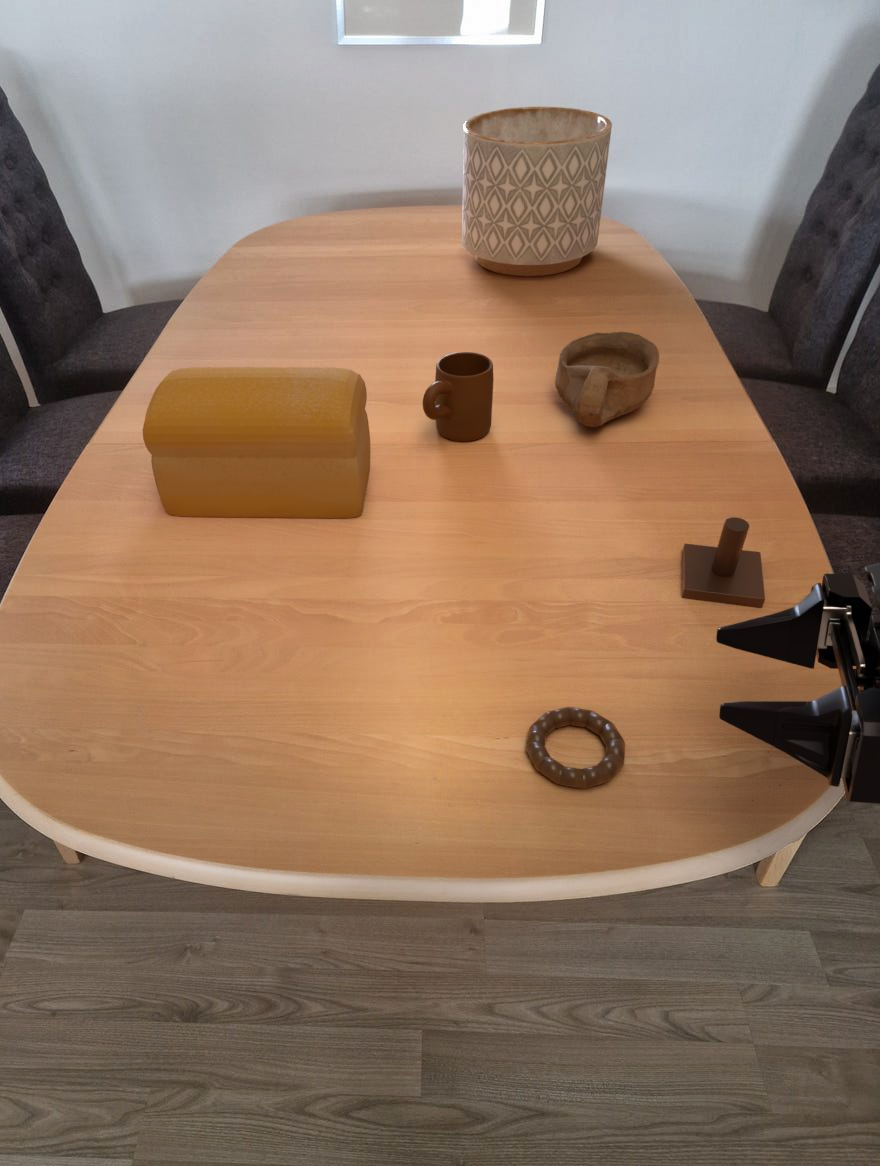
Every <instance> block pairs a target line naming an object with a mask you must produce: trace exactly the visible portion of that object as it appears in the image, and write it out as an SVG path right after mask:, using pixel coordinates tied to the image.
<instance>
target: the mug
mask: <svg viewBox="0 0 880 1166" xmlns="http://www.w3.org/2000/svg"><path fill="white" fill-rule="evenodd" d="M493 398H494V364H493V361H492V360H491V358H489V357H488V356H487V355H484V354H482V353H478V352H474V351H456V352H452V353H448V354H446V355H444V356H442V357H440V358H439V359H438V360H437V362H436V364H435V377H434V382H432V383H431V384H430V385H429V386H428V387H427V388H426V389H425V392H424V394H423V398H422V410H423V413H424V414H425V416H426V417H427V418H429V419H430V420H431V421H432V420H433V421H435V427H436V430H437V432H438V434H439V435H441V436H442V438H445V439H447V440H450V441H453V442H454V441H455V442H463V443H464V442H473V441H477V440H479V439H481V438H483V437H485V436H486V435H487V434H488V433H489V432H490V429H491V426H492V417H493V415H492V414H493V400H494V399H493Z"/></svg>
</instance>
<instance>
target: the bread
mask: <svg viewBox="0 0 880 1166" xmlns="http://www.w3.org/2000/svg"><path fill="white" fill-rule="evenodd" d="M367 396H368V393H367V386H366V382H365V379H363V377H362V375H361V374H360V373H359V372H356V371H355V370H352V369H348V368H343V367H332V366H331V367H326V366H323V367H322V366H320V367H319V366H318V367H317V366H300V367H299V366H270V367H269V366H268V367H267V366H264V367H263V366H260V367H259V366H245V367H244V366H243V367H242V366H238V367H237V366H233V367H232V366H229V367H228V366H227V367H226V366H223V367H222V366H221V367H218V366H217V367H211V366H209V367H205V366H204V367H202V366H201V367H183V368H177V369H175V370H174V369H173V370H172V371H170V372H169V373H168V374H167V375H165V377H164V378H163V379H162V380H161V381H160V382H159V384H158V385H157V386H156V388H155V390H154V391H153V394H152V396H151V399H150V401H149V403H148V406H147V408H146V412H145V417H144V422H143V427H142V439H143V443H144V446H145V448H146V449H147V451H148V452H149V454H150V455H151V458H150V459H151V461H150V462H151V469H152V473H153V478H154V482H155V486H156V490H157V493H158V496H159V499H160V502H161V504H162V506H163V507H164V509H165V511H166V514H168V515H169V516H175V517H189V518H190V517H192V518H193V517H194V518H195V517H196V518H197V517H198V518H268V519H274V518H275V519H276V518H277V519H278V518H279V519H283V518H284V519H353V518H358V517H360V516H362V513H363V510H364V504H365V498H366V493H367V487H368V481H369V475H370V470H371V434H370V425H369V423H370V422H369V417H368V413H367V410H366V405H367V398H368V397H367Z"/></svg>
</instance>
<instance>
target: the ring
mask: <svg viewBox="0 0 880 1166" xmlns="http://www.w3.org/2000/svg"><path fill="white" fill-rule="evenodd" d="M567 726H573V727H574V726H575V727H581V728H586V729H588V730H590V731H591V732H593V733H594V734H596V735H597V736H599V737H600V740H601V741H602V743H603V744H604V745H605V756H604V757H603V758H602V759H601V760H600V761H599V762H598V763H597V764H596V765H591V766H588V767H584V768H578V767H573V766H567V765H563V764H562V763H560V762H559V761H558V760H556V759H555V758H553V757H551V755H550V753H549V752H548V749H547V747H546V741H547V737H548V736H549V735H550V734H551V733H552V732H553V731H554V730H555V729H558V728H562V727H567ZM525 751H526V752H527V755H528V757H529V758H530V761H531V763H532V765H533V767H534V768H535V770H536V771H537V772H539V773H540V774H541V775H543V776H545V777H546V778H548V779H549V780H550V781H552V782H553V783H555V784H557V785H560V786H565V787H572V788H577V789H588V788H592V787H595V786H598V785H602V784H607V783H608V782H610V780H611V779H613V778H614V776H615V775H616V774H618V772H619V771H621V769H622V768H623V767H624V765H625V757H626V756H625V755H626V742H625V739H624V738H623V737H622V734H621V733H620V732H619V730H618V728H617V727H616V724H614V722H612V721H611V720H609V719H608V718H606V717H604V716H602V715H601V714H599V713H598V712H596V711H595V710H592V709H586V708H580V707H579V708H578V707H574V706H573V707H572V706H565V707H561V708H557V709H553V710H549V711H546V712H544V713H543V714H542V715H541V716H540V717H539V718H538V719H537V720H536V721H534V722H533V723H532V724H531V725H530V727H529V728H528V733H527V738H526V744H525Z"/></svg>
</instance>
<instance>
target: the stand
mask: <svg viewBox="0 0 880 1166" xmlns="http://www.w3.org/2000/svg"><path fill="white" fill-rule="evenodd" d="M749 529H750V523H749V522H748V521H747V520H745V519H744V518H741V517H734V516H733V517H729V518H726V519H725V520H724V523H723V527H722V530H721V533H720V537H719V540H718V544H717V546H711V545H710V546H709V545H701V544H692V543H684V544H683V548H682V552H681V554H682V555H681V558H682V559H681V565H682V566H681V597H682V598H683V599H691V600H699V601H705V602H706V601H707V602H714V603H720V604H721V603H723V604H730V605H737V606H745V607H746V606H747V607H753V608H760V609H762V608H763V607H764V603H765V600H766V594H765V584H764V575H763V563H762V555H761V552H760V551H753V550H745V549H743V548H744V545H745V541H746V539H747V535H748V532H749Z"/></svg>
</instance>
